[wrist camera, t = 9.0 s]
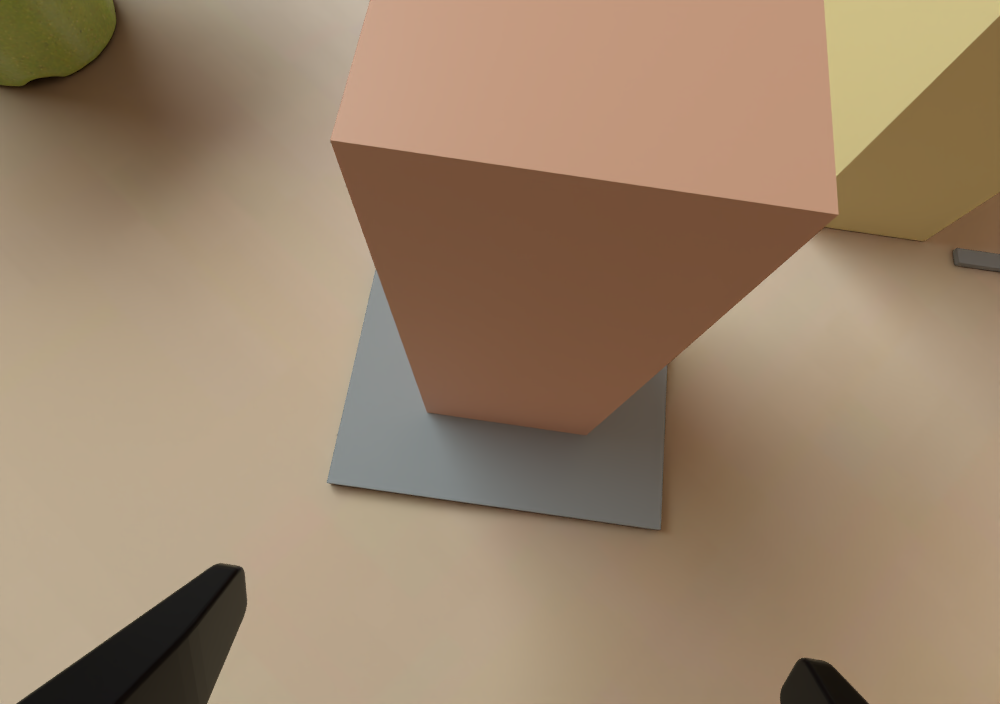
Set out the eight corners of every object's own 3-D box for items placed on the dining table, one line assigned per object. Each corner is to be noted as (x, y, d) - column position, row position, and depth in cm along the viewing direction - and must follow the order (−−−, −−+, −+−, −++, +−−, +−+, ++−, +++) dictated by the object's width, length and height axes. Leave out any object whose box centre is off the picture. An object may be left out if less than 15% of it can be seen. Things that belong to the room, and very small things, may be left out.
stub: (587, 435, 17) (844, 215, 5) (425, 412, 17) (324, 139, 5) (600, 290, 19) (819, -126, 7) (451, 268, 19) (418, -186, 7)
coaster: (657, 530, 17) (660, 529, 16) (328, 483, 17) (327, 482, 16) (669, 240, 20) (672, 236, 20) (393, 200, 20) (392, 195, 20)
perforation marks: (1138, 291, 20) (1145, 289, 20) (574, 210, 20) (575, 207, 20) (1134, 277, 20) (1140, 274, 20) (576, 196, 20) (577, 193, 20)
